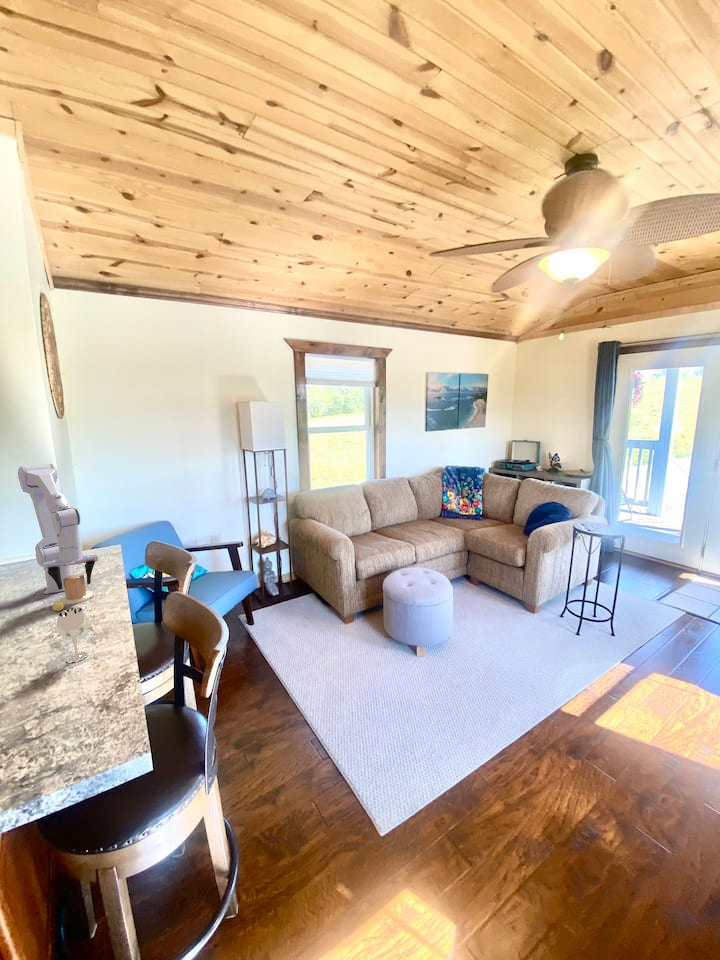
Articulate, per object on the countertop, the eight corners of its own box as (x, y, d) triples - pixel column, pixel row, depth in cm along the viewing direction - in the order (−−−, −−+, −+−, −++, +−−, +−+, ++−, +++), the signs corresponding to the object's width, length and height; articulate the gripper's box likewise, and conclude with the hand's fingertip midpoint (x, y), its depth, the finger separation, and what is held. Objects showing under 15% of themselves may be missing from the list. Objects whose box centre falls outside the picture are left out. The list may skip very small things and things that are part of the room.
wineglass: (76, 666, 94) (69, 618, 92) (56, 663, 95) (49, 616, 93) (96, 652, 99) (90, 607, 98) (77, 650, 101) (71, 605, 99)
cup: (67, 595, 132) (64, 576, 131) (87, 591, 134) (84, 573, 134) (64, 601, 127) (61, 582, 126) (85, 597, 130) (82, 578, 129)
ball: (54, 609, 123) (52, 600, 123) (66, 607, 125) (64, 598, 124) (52, 613, 121) (50, 604, 120) (64, 611, 122) (63, 602, 122)
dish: (62, 596, 133) (62, 594, 133) (94, 590, 137) (94, 588, 137) (57, 607, 125) (56, 604, 125) (91, 600, 129) (91, 598, 129)
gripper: (38, 553, 122) (44, 595, 124) (94, 545, 128) (99, 585, 130) (43, 547, 128) (49, 587, 130) (97, 540, 134) (102, 578, 136)
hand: (75, 585), depth 130 cm, fingers open, 7 cm apart
